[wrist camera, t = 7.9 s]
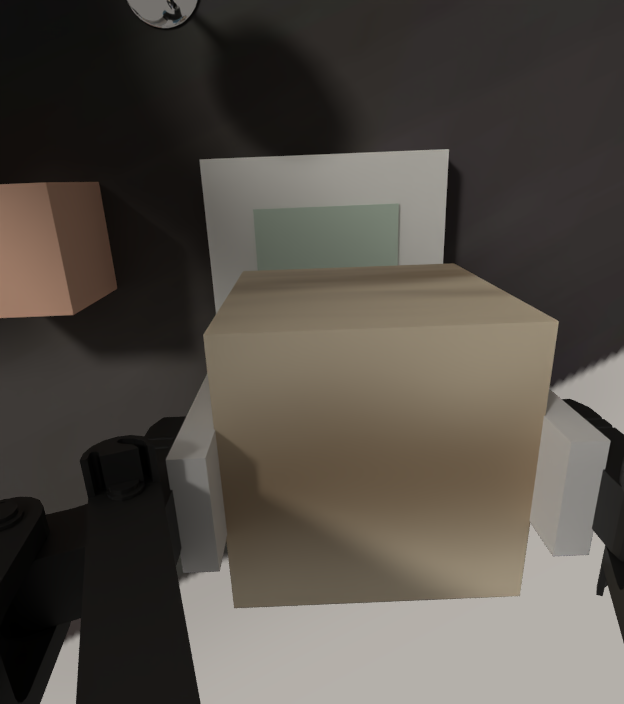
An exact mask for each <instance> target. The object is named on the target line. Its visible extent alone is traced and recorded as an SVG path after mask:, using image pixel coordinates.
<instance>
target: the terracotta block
mask: <svg viewBox="0 0 624 704" xmlns="http://www.w3.org/2000/svg"><path fill="white" fill-rule="evenodd" d="M116 289H117V283H116V277H115V272H114V266H113V260H112V254H111V249H110V243H109V237H108V232H107V226H106V220H105V214H104V209H103V203H102V197H101V192H100V186H99V182H45V183H20V184H0V318H15V317H38V316H62V315H74V314H76V313H78V312H79V311H81V310H83V309H84V308H86V307H88V306H89V305H91V304H93V303H94V302H96V301H98V300H100V299H101V298H103V297H105V296H106V295H108V294H110V293H111V292H113V291H115V290H116Z"/></svg>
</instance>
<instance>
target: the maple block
mask: <svg viewBox="0 0 624 704" xmlns="http://www.w3.org/2000/svg"><path fill="white" fill-rule="evenodd" d="M558 323H559V321H557V320H555V319H554V318H552V317H550V316H548V315H546V314H545V313H543V312H541V311H539V310H537V309H536V308H534V307H532V306H530V305H528V304H526V303H525V302H523V301H521V300H519V299H517V298H516V297H514V296H512V295H510V294H508V293H507V292H505V291H503V290H501V289H499V288H497V287H496V286H494V285H492V284H490V283H488V282H487V281H485V280H483V279H481V278H479V277H478V276H476V275H474V274H472V273H470V272H468V271H467V270H465V269H463V268H461V267H459V266H458V265H456V264H454V263H451V264H423V265H396V266H369V267H342V268H314V269H287V270H260V271H243V272H242V274H241V275H240V277H239V279H238V280H237V282H236V283H235V285H234V287H233V288H232V290H231V291H230V293H229V295H228V296H227V298H226V299H225V301H224V303H223V304H222V306H221V307H220V309H219V311H218V312H217V314H216V315H215V317H214V318H213V320H212V322H211V323H210V325H209V326H208V328H207V330H206V331H205V333H204V334H203V337H204V346H205V355H206V363H207V372H208V381H209V390H210V399H211V408H212V416H213V425H214V430H215V433H216V442H217V450H218V459H219V468H220V476H221V485H222V493H223V502H224V511H225V519H226V528H227V538H226V540H227V549H228V558H229V566H230V575H231V583H232V593H233V601H234V608H249V607H274V606H298V605H320V604H344V603H368V602H391V601H414V600H437V599H461V598H484V597H506V596H520V590H521V583H522V576H523V569H524V562H525V555H526V548H527V541H528V534H529V527H530V513H531V506H532V499H533V492H534V484H535V477H536V470H537V463H538V455H539V448H540V441H541V434H542V426H543V419H544V416H545V415H546V408H547V401H548V394H549V387H550V380H551V372H552V365H553V358H554V351H555V344H556V337H557V330H558Z"/></svg>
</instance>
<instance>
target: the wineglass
mask: <svg viewBox="0 0 624 704" xmlns="http://www.w3.org/2000/svg"><path fill="white" fill-rule="evenodd" d="M126 1H127V3H128V5H129V7H130V8H131V10H132V11H133V12H134V14H135V15H136V16H137V17H138V18H139V19H141V20H142V21H143V22H144V23H146V24H148V25H150V26H152V27H156V28H160V29H169V28H174V27H177V26H179V25H181V24H182V23H184V22H185V21H186V20H187V19H188V18H189V17H190V16H191V15H192V13H193V12H194V10H195V8H196V5H197V2H198V0H126Z"/></svg>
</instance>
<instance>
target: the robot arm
mask: <svg viewBox="0 0 624 704" xmlns="http://www.w3.org/2000/svg"><path fill="white" fill-rule="evenodd" d="M80 464H81V468H82V472H83V477H84V481H85V486H86V490H87V495H88V504H86V505H83V506H79V507H76V508H73V509H69V510H64V511H60V512H56V513H52V514H47V515H45V511H44V507H43V505H42V503H41V502H40V500H38V499H35V498H32V497H15V498H10V499H3V500H0V704H40V702H41V699H42V697H43V694H44V692H45V689H46V686H47V684H48V681H49V679H50V676H51V673H52V671H53V668H54V665H55V663H56V660H57V657H58V655H59V652H60V650H61V647H62V645H63V642H64V639H65V637H66V634H67V632H68V629H69V626H70V623H71V621H73V620H76V619H79V618H81V629H80V647H79V663H78V681H77V696H76V704H200V698H199V693H198V687H197V682H196V676H195V671H194V665H193V660H192V654H191V648H190V643H189V638H188V632H187V627H186V621H185V615H184V610H183V604H182V600H181V593H180V588H179V582H178V576H177V571H176V564H177V561H178V558H179V555H181V561H182V567H183V573H193V572H214V571H220V567H221V562H222V557H223V553H224V548H225V543H226V538H227V528H226V519H225V511H224V502H223V493H222V485H221V476H220V468H219V459H218V450H217V442H216V433H215V430H214V425H213V416H212V408H211V399H210V390H209V381H208V373H207V375H206V377H205V379H204V381H203V383H202V385H201V387H200V390H199V392H198V394H197V396H196V398H195V400H194V402H193V404H192V406H191V408H190V410H189V412H188V414H187V416H186V417H164V418H162V419H161V420H160V421H158V422H157V423H155V424H154V425H153V426H151V427H150V428H149V430H148V431H147V433H146V435H145V436H144V437H143V436H135V435H128V436H120V437H115V438H111V439H108V440H104V441H102V442H100V443H98V444H96V445H94V446H92V447H91V448H89V449H88V450H87V451H86V452H85V453H83V455H82V457H81V459H80ZM530 523H531V524H532V525H533V527H534V529H535V530H536V532H537V533H538V535H539V536H540V538H541V539H542V541H543V542H544V543H545V545H546V547H547V548H548V550H549V551H550V552H551V554H552V556H571V555H572V556H573V555H589V551H590V546H591V540H592V535H593V531H594V532H595V533H596V534H597V535H598V537H599V538H600V539H601V540H602V541H603V542H604V544H605V550H604V554H603V559H602V564H601V569H600V574H599V579H598V584H597V595H600V596H603V592H604V588H605V587H606V586H607V585H608V587H609V591H610V595H611V598H612V601H613V605H614V609H615V613H616V616H617V620H618V624H619V627H620V631H621V634H622V638H623V642H624V434H622V433H621V432H620V431H618V430H617V429H616V428H612V425H611V424H610V423H608V422H607V421H606V420H605V419H602V417H601V416H600V415H598V414H597V413H596V412H594V411H593V410H592V409H591V408H589V407H587V406H585V405H583V404H581V403H578V402H576V401H574V400H571V399H560V398H559V397H558V396H557V395H556V394H555V393H554V392H552V391H551V390H550V389H549V394H548V401H547V408H546V415H545V416H544V419H543V426H542V434H541V441H540V448H539V455H538V463H537V470H536V477H535V484H534V492H533V499H532V506H531V513H530Z"/></svg>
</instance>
